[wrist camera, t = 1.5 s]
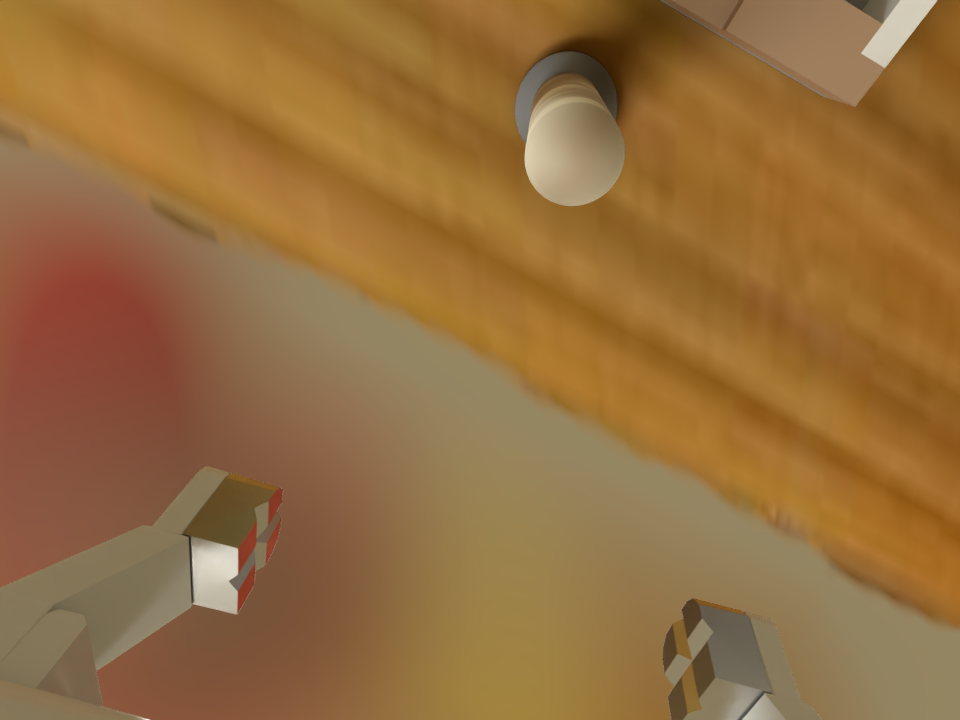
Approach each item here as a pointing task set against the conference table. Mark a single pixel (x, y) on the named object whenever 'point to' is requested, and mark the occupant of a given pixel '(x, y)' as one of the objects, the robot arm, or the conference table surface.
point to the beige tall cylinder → (570, 128)
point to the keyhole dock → (815, 37)
